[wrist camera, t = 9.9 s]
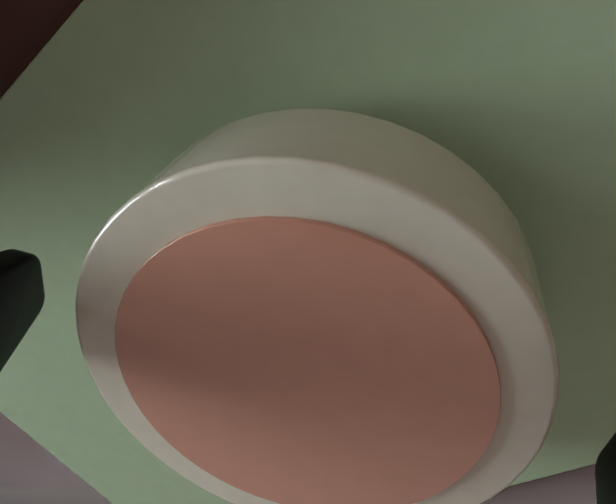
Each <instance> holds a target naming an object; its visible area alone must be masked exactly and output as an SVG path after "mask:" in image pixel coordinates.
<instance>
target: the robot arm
mask: <svg viewBox="0 0 616 504" xmlns="http://www.w3.org/2000/svg"><path fill="white" fill-rule="evenodd" d="M44 300H45V292H44V284H43V276H42V269H41V262H40V260H39V258H38V257H37V256H36V255H34V254H31V253H28V252H24V251H20V250H17V249H7V250H4V251H0V372H1V371H2V369H3V367H4V366H5V364H6V363H7V361H8V360H9V358H10V357H11V355H12V354H13V352H14V351H15V349H16V348H17V346H18V345H19V343H20V342H21V340H22V339H23V337H24V336H25V334H26V333H27V331H28V330H29V328H30V327H31V325H32V323H33V322H34V320H35V319H36V317H37V316H38V314H39V313H40V311H41V309H42V307H43V304H44ZM595 477H596V494H597V504H616V432H615V434H614V435H613V436H612V437H611V439H610V440H609V441H608V443H607V444H606V445H605V447H604V448H603V449H602V451H601V452H600V454H599V455H598V458H597V461H596V466H595Z"/></svg>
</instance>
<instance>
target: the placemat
mask: <svg viewBox="0 0 616 504" xmlns="http://www.w3.org/2000/svg"><path fill="white" fill-rule="evenodd" d="M289 109H330V110H338V111H346V112H353V113H359V114H363V115H367V116H371V117H374V118H378V119H382V120H386V121H390V122H392V123H395V124H397V125H399V126H402V127H404V128H407V129H409V130H412V131H414V132H417V133H419V134H421V135H423V136H425V137H427V138H428V139H430V140H432V141H434V142H435V143H437V144H439V145H441V146H442V147H444V148H446V149H448V150H449V151H451V152H452V153H453V154H455V155H456V156H457V157H459V158H460V159H461V160H463V161H464V162H465V163H466V164H468V165H469V166H470V167H472V168H473V169H474V170H475V171H476V172H477V173H478V174H479V175H480V176H481V177H482V178H483V179H484V180H485V181H486V182H487V183H488V184H489V185H490V186H491V187H492V188H493V189H494V190H495V191H496V192H497V193H498V194H499V196H500V197H501V198H502V200H503V201H504V202H505V204H506V205H507V207H508V208H509V209H510V211H511V212H512V213H513V215H514V216H515V218H516V220H517V222H518V224H519V226H520V228H521V230H522V231H523V233H524V235H525V237H526V239H527V241H528V244H529V247H530V250H531V253H532V256H533V259H534V262H535V265H536V269H537V273H538V277H539V281H540V285H541V289H542V293H543V297H544V300H545V304H546V308H547V312H548V316H549V320H550V324H551V328H552V332H553V336H554V340H555V343H556V350H557V357H558V364H559V370H560V376H559V398H558V402H557V406H556V411H555V415H554V419H553V423H552V425H551V428H550V430H549V432H548V434H547V436H546V439H545V441H544V443H543V445H542V447H541V449H540V450H539V452H538V453H537V455H536V456H535V457H534V459H533V460H532V462H531V463H530V465H529V466H528V467H527V468H526V469H525V470H524V471H523V472H522V473H521V474H520V475H519V476H518V477H517V478H516V479H515V481H514V482H513V483H512V484H510V485H509V486H513V485H516V484H520V483H524V482H528V481H532V480H535V479H539V478H543V477H547V476H551V475H554V474H558V473H562V472H566V471H570V470H573V469H577V468H581V467H585V466H589V465H592V464H596V461H597V458H598V455H599V454H600V452H601V451H602V449H603V448H604V447H605V445H606V444H607V443H608V441H609V440H610V439H611V437H612V436H613V435H614V434H615V432H616V0H83V1H82V2H81V4H80V5H79V6H78V7H77V8H76V10H75V11H74V12H73V13H72V14H71V16H70V17H69V18H68V19H67V20H66V21H65V23H64V24H63V25H62V26H61V27H60V29H59V30H58V31H57V32H56V33H55V34H54V36H53V37H52V38H51V39H50V40H49V42H48V43H47V44H46V45H45V46H44V48H43V49H42V50H41V51H40V52H39V53H38V55H37V56H36V57H35V58H34V59H33V61H32V62H31V63H30V64H29V65H28V67H27V68H26V69H25V70H24V71H23V72H22V74H21V75H20V76H19V77H18V78H17V80H16V81H15V82H14V83H13V84H12V86H11V87H10V88H9V89H8V90H7V91H6V93H5V94H4V95H3V96H2V97H1V99H0V251H4V250H7V249H17V250H20V251H24V252H28V253H31V254H34V255H36V256H37V257H38V258H39V260H40V262H41V269H42V276H43V284H44V292H45V300H44V304H43V307H42V309H41V311H40V313H39V314H38V316H37V317H36V319H35V320H34V322H33V323H32V325H31V327H30V328H29V330H28V331H27V333H26V334H25V336H24V337H23V339H22V340H21V342H20V343H19V345H18V346H17V348H16V349H15V351H14V352H13V354H12V355H11V357H10V358H9V360H8V361H7V363H6V364H5V366H4V367H3V369H2V371H1V372H0V412H1V413H2V414H4V415H5V416H6V417H7V418H8V419H10V420H11V421H12V422H13V423H15V424H16V425H17V426H18V427H19V428H21V429H22V430H23V431H24V432H26V433H27V434H28V435H29V436H30V437H32V438H33V439H34V440H35V441H37V442H38V443H39V444H40V445H41V446H43V447H44V448H45V449H46V450H48V451H49V452H50V453H51V454H52V455H54V456H55V457H56V458H57V459H59V460H60V461H61V462H62V463H63V464H65V465H66V466H67V467H68V468H70V469H71V470H72V471H73V472H74V473H76V474H77V475H78V476H79V477H81V478H82V479H83V480H84V481H85V482H87V483H88V484H89V485H90V486H92V487H93V488H94V489H95V490H97V491H98V492H99V493H100V494H101V495H103V496H104V497H105V498H106V499H108V500H109V501H110V502H111V503H112V504H232V503H230V502H227V501H225V500H223V499H221V498H219V497H217V496H215V495H213V494H211V493H209V492H207V491H205V490H204V489H202V488H200V487H199V486H197V485H195V484H193V483H192V482H190V481H188V480H187V479H185V478H184V477H182V476H181V475H179V474H178V473H176V472H175V471H174V470H172V469H171V468H169V467H168V466H167V465H165V464H164V463H163V462H161V461H160V460H159V459H158V458H157V457H155V456H154V455H153V454H152V453H151V452H149V451H148V450H147V449H146V448H145V447H144V446H143V445H142V444H141V443H140V442H139V441H138V440H137V439H136V438H135V437H134V436H133V435H132V434H131V433H130V432H129V431H128V430H127V429H126V428H125V426H124V425H123V424H122V423H121V422H120V420H119V419H118V418H117V417H116V416H115V414H114V413H113V412H112V410H111V409H110V407H109V406H108V404H107V403H106V401H105V400H104V398H103V397H102V395H101V394H100V392H99V390H98V388H97V386H96V384H95V382H94V381H93V379H92V377H91V375H90V373H89V370H88V368H87V365H86V362H85V359H84V357H83V354H82V351H81V347H80V342H79V338H78V333H77V328H76V311H75V303H76V293H77V284H78V280H79V276H80V273H81V269H82V266H83V262H84V259H85V256H86V254H87V252H88V250H89V248H90V246H91V244H92V242H93V240H94V238H95V236H96V235H97V234H98V232H99V231H100V230H101V228H102V227H103V226H104V225H105V223H106V222H107V221H108V219H109V218H110V217H111V215H112V214H114V213H115V212H116V211H117V210H118V209H119V208H120V207H121V206H122V205H123V204H125V203H126V202H127V201H128V200H129V199H130V198H131V197H132V196H133V195H134V194H136V193H137V192H138V191H139V190H140V189H141V188H142V187H143V186H144V185H146V184H147V183H148V182H149V181H150V180H151V179H152V178H153V177H154V176H156V175H157V174H158V173H159V172H160V171H161V170H162V169H163V168H164V167H166V166H167V165H168V164H169V163H170V162H171V161H172V160H173V159H174V158H176V157H177V156H178V155H179V154H180V153H181V152H182V151H183V150H184V149H186V148H187V147H188V146H189V145H191V144H192V143H194V142H196V141H197V140H199V139H200V138H202V137H203V136H205V135H206V134H208V133H209V132H211V131H214V130H216V129H218V128H220V127H223V126H225V125H227V124H229V123H231V122H234V121H237V120H240V119H244V118H247V117H251V116H254V115H258V114H261V113H267V112H274V111H281V110H289ZM509 486H508V487H509Z"/></svg>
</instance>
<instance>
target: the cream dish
mask: <svg viewBox="0 0 616 504" xmlns="http://www.w3.org/2000/svg"><path fill="white" fill-rule="evenodd" d="M75 311H76V328H77V333H78V338H79V342H80V347H81V351H82V354H83V357H84V359H85V362H86V365H87V368H88V370H89V373H90V375H91V377H92V379H93V381H94V382H95V384H96V386H97V388H98V390H99V392H100V394H101V395H102V397H103V398H104V400H105V401H106V403H107V404H108V406H109V407H110V409H111V410H112V412H113V413H114V414H115V416H116V417H117V418H118V419H119V420H120V422H121V423H122V424H123V425H124V426H125V428H126V429H127V430H128V431H129V432H130V433H131V434H132V435H133V436H134V437H135V438H136V439H137V440H138V441H139V442H140V443H141V444H142V445H143V446H144V447H145V448H146V449H147V450H148V451H149V452H151V453H152V454H153V455H154V456H155V457H157V458H158V459H159V460H160V461H161V462H163V463H164V464H165V465H167V466H168V467H169V468H171V469H172V470H174V471H175V472H176V473H178V474H179V475H181V476H182V477H184V478H185V479H187V480H188V481H190V482H192V483H193V484H195V485H197V486H199V487H200V488H202V489H204V490H205V491H207V492H209V493H211V494H213V495H215V496H217V497H219V498H221V499H223V500H225V501H227V502H230V503H232V504H482V503H484V502H486V501H488V500H490V499H492V498H493V497H494V496H496V495H497V494H498V493H500V492H501V491H502V490H504V489H505V488H506V487H508V486H509V485H510V484H512V483H513V482H514V481H515V479H516V478H517V477H518V476H519V475H520V474H521V473H522V472H523V471H524V470H525V469H526V468H527V467H528V466H529V465H530V463H531V462H532V460H533V459H534V457H535V456H536V455H537V453H538V452H539V450H540V449H541V447H542V445H543V443H544V441H545V439H546V436H547V434H548V432H549V430H550V428H551V425H552V423H553V419H554V415H555V411H556V406H557V402H558V398H559V376H560V370H559V364H558V357H557V350H556V343H555V340H554V336H553V332H552V328H551V324H550V320H549V316H548V312H547V308H546V304H545V300H544V297H543V293H542V289H541V285H540V281H539V277H538V273H537V269H536V265H535V262H534V259H533V256H532V253H531V250H530V247H529V244H528V241H527V239H526V237H525V235H524V233H523V231H522V230H521V228H520V226H519V224H518V222H517V220H516V218H515V216H514V215H513V213H512V212H511V211H510V209H509V208H508V207H507V205H506V204H505V202H504V201H503V200H502V198H501V197H500V196H499V194H498V193H497V192H496V191H495V190H494V189H493V188H492V187H491V186H490V185H489V184H488V183H487V182H486V181H485V180H484V179H483V178H482V177H481V176H480V175H479V174H478V173H477V172H476V171H475V170H474V169H473V168H472V167H470V166H469V165H468V164H466V163H465V162H464V161H463V160H461V159H460V158H459V157H457V156H456V155H455V154H453V153H452V152H451V151H449V150H448V149H446V148H444V147H442V146H441V145H439V144H437V143H435V142H434V141H432V140H430V139H428V138H427V137H425V136H423V135H421V134H419V133H417V132H414V131H412V130H409V129H407V128H404V127H402V126H399V125H397V124H395V123H392V122H390V121H386V120H382V119H378V118H374V117H371V116H367V115H363V114H359V113H353V112H346V111H338V110H330V109H289V110H281V111H274V112H267V113H261V114H258V115H254V116H251V117H247V118H244V119H240V120H237V121H234V122H231V123H229V124H227V125H225V126H223V127H220V128H218V129H216V130H214V131H211V132H209V133H208V134H206V135H205V136H203V137H202V138H200V139H199V140H197V141H196V142H194V143H192V144H191V145H189V146H188V147H187V148H186V149H184V150H183V151H182V152H181V153H180V154H179V155H178V156H177V157H176V158H174V159H173V160H172V161H171V162H170V163H169V164H168V165H167V166H166V167H164V168H163V169H162V170H161V171H160V172H159V173H158V174H157V175H156V176H154V177H153V178H152V179H151V180H150V181H149V182H148V183H147V184H146V185H144V186H143V187H142V188H141V189H140V190H139V191H138V192H137V193H136V194H134V195H133V196H132V197H131V198H130V199H129V200H128V201H127V202H126V203H125V204H123V205H122V206H121V207H120V208H119V209H118V210H117V211H116V212H115V213H114V214H112V215H111V217H110V218H109V219H108V221H107V222H106V223H105V225H104V226H103V227H102V228H101V230H100V231H99V232H98V234H97V235H96V236H95V238H94V240H93V242H92V244H91V246H90V248H89V250H88V252H87V254H86V256H85V259H84V262H83V266H82V269H81V273H80V276H79V280H78V284H77V293H76V303H75Z"/></svg>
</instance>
